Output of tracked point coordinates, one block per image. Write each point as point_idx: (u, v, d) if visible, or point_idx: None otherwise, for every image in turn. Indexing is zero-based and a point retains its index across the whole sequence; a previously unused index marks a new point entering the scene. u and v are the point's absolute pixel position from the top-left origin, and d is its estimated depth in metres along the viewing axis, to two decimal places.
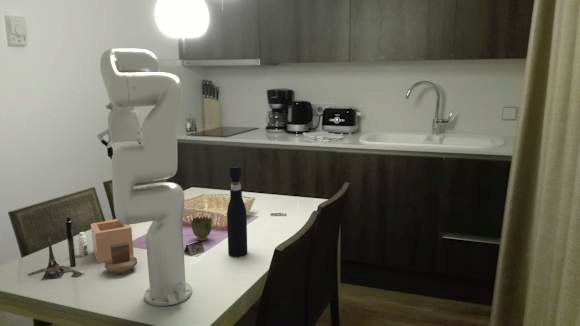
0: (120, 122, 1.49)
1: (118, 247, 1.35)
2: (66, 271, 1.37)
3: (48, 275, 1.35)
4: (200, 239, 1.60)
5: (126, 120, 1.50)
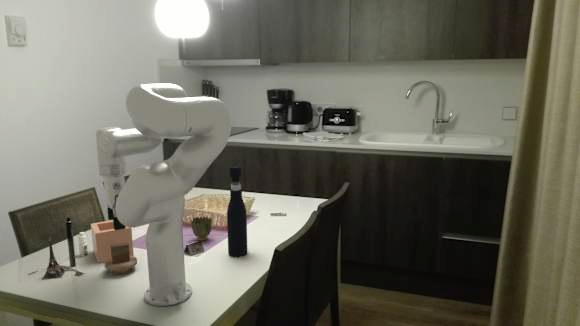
0: None
1: (118, 247, 1.35)
2: None
3: (49, 275, 1.35)
4: (200, 239, 1.60)
5: None
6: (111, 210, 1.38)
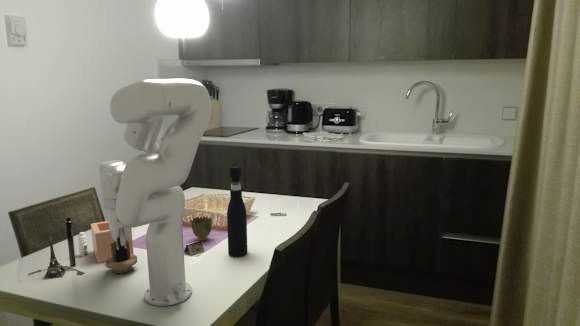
0: None
1: None
2: (67, 270, 1.38)
3: (49, 274, 1.35)
4: (200, 239, 1.60)
5: None
6: None
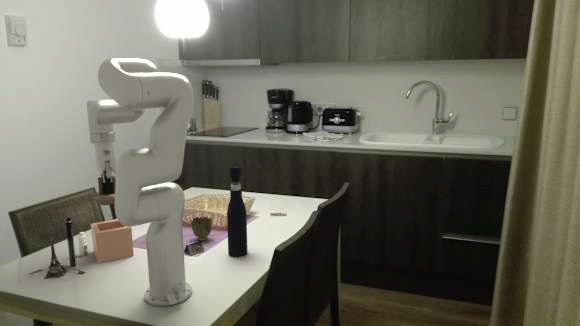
0: None
1: None
2: None
3: (50, 274, 1.35)
4: (200, 239, 1.60)
5: None
6: None
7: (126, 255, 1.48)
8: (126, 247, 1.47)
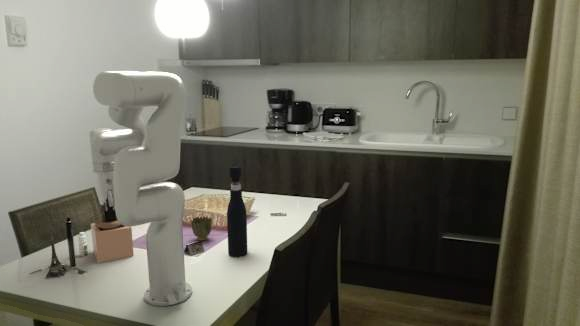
0: None
1: None
2: (68, 269, 1.39)
3: (51, 274, 1.36)
4: (200, 239, 1.60)
5: None
6: None
7: (126, 255, 1.48)
8: (126, 247, 1.47)
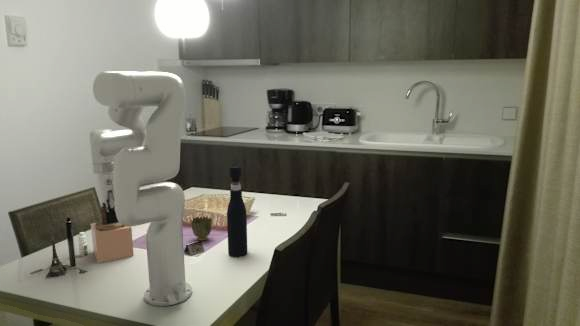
0: None
1: None
2: (69, 269, 1.39)
3: (51, 273, 1.36)
4: (200, 239, 1.60)
5: None
6: None
7: (126, 255, 1.48)
8: (126, 247, 1.47)
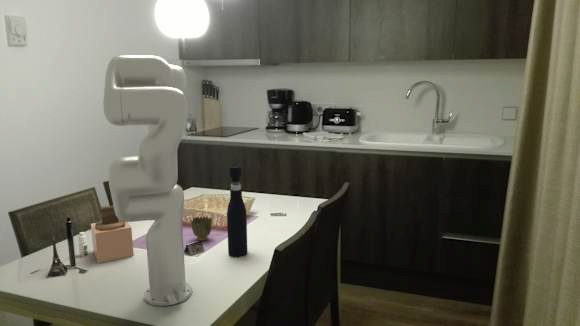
0: None
1: (107, 209, 1.46)
2: None
3: (52, 273, 1.36)
4: (200, 239, 1.60)
5: None
6: None
7: (126, 255, 1.48)
8: (126, 247, 1.47)
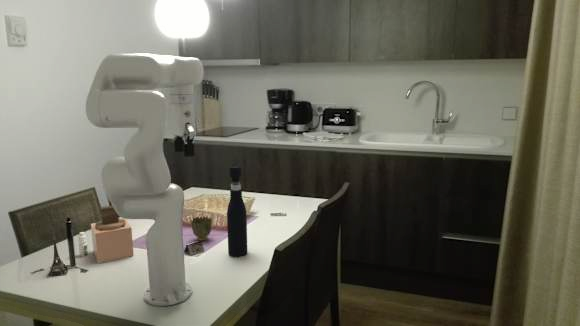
0: None
1: (107, 209, 1.46)
2: (70, 268, 1.39)
3: (53, 273, 1.36)
4: (200, 239, 1.60)
5: None
6: (178, 142, 1.46)
7: (126, 255, 1.48)
8: (126, 247, 1.47)
